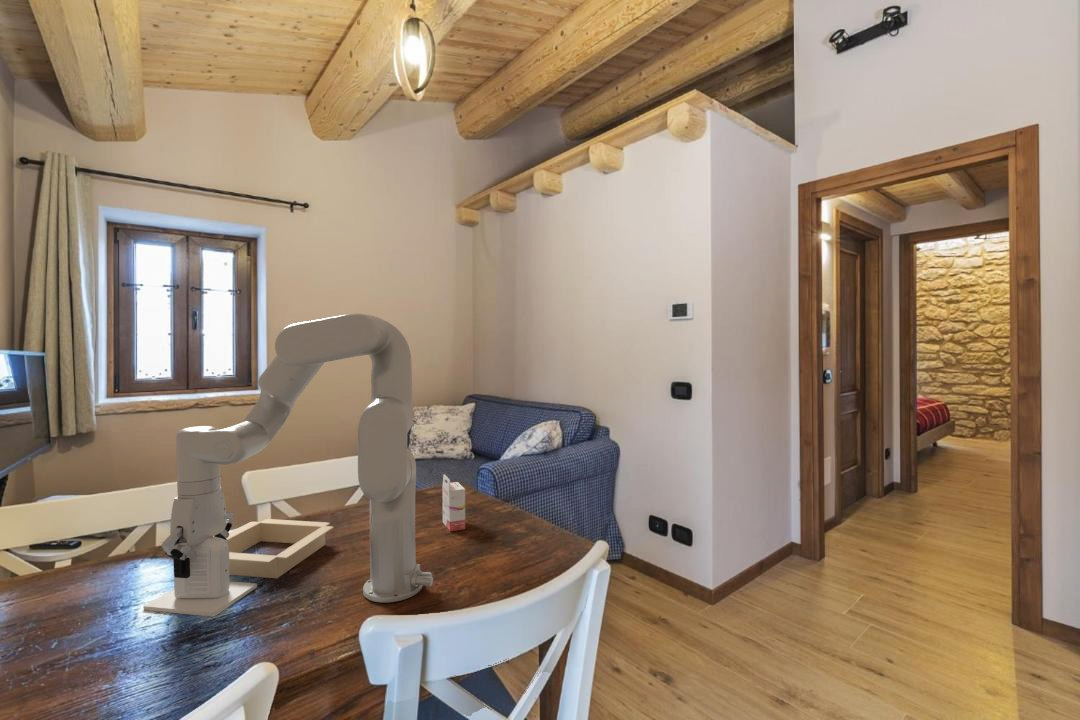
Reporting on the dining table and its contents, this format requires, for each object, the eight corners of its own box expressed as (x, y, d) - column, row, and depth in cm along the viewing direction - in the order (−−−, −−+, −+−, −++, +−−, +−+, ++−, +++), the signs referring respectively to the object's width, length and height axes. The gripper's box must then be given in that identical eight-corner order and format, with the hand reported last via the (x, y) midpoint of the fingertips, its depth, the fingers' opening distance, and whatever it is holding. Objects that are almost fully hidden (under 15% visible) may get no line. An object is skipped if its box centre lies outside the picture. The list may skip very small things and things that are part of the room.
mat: (257, 587, 112) (256, 583, 112) (213, 616, 100) (213, 612, 100) (193, 581, 114) (192, 578, 114) (143, 610, 102) (143, 606, 102)
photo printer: (233, 589, 109) (232, 532, 109) (222, 599, 105) (220, 540, 104) (184, 590, 109) (182, 533, 108) (170, 600, 104) (168, 541, 104)
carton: (339, 541, 137) (338, 523, 137) (279, 584, 113) (279, 562, 113) (258, 536, 141) (257, 518, 140) (184, 576, 117) (183, 555, 116)
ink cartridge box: (466, 529, 145) (466, 478, 145) (449, 532, 143) (449, 480, 143) (458, 519, 153) (457, 471, 153) (442, 522, 151) (441, 473, 150)
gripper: (216, 474, 115) (218, 548, 116) (145, 498, 98) (148, 584, 99) (245, 475, 114) (247, 550, 115) (179, 500, 97) (182, 587, 98)
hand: (201, 566), depth 107 cm, fingers open, 9 cm apart
